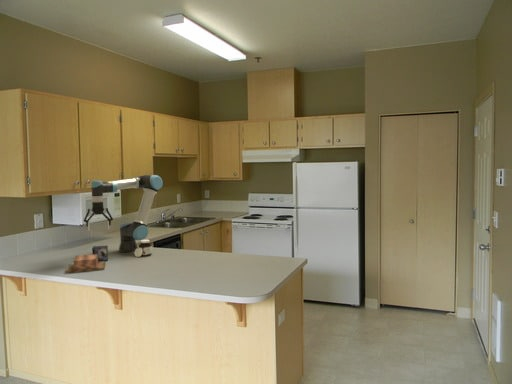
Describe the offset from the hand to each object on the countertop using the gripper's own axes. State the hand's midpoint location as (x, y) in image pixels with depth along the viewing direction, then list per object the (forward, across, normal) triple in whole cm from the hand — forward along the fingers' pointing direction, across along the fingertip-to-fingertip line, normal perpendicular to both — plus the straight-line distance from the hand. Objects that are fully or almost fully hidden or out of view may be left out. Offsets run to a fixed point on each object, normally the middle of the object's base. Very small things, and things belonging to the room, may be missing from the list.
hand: (98, 230), depth 308 cm
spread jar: (+23, +31, +6) cm, 39 cm away
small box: (+23, 0, +1) cm, 23 cm away
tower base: (+23, -8, -19) cm, 31 cm away
